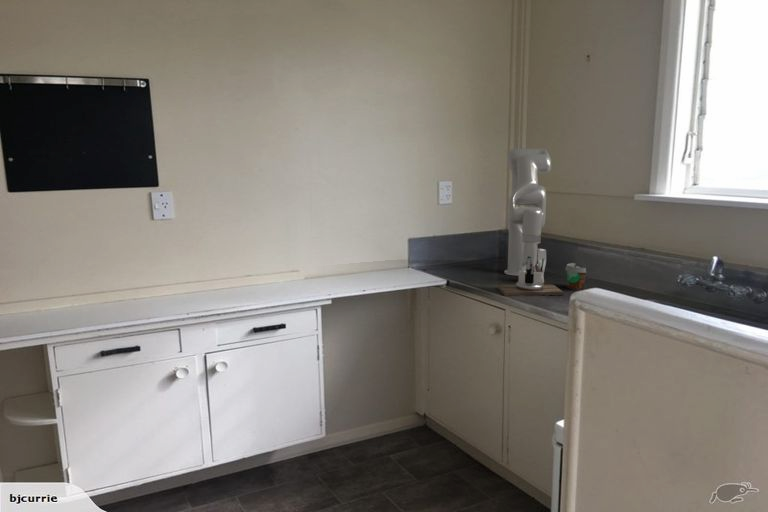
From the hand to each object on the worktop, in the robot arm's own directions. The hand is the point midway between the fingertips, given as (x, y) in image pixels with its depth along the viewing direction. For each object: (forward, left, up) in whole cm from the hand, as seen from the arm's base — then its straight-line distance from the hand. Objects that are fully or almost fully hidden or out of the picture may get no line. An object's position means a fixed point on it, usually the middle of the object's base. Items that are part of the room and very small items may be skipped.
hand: (529, 282), depth 255 cm
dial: (0, 0, -2) cm, 2 cm away
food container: (-6, +20, -4) cm, 22 cm away
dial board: (0, 0, -4) cm, 4 cm away
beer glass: (-18, +8, -4) cm, 21 cm away
